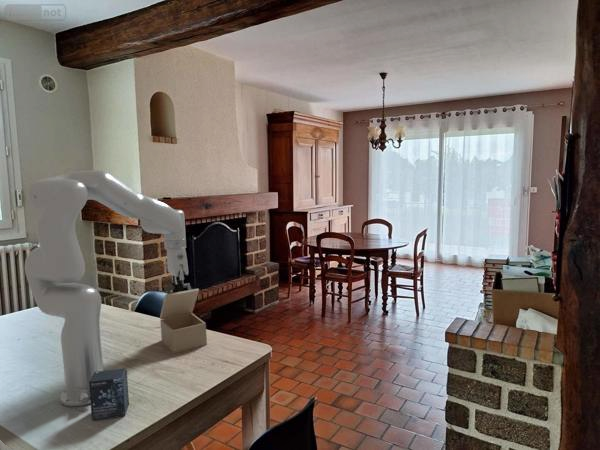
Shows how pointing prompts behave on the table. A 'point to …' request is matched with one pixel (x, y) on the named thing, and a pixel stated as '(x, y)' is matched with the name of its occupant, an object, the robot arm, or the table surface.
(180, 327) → the tan open container
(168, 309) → the door
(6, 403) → the table surface
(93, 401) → the box
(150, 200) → the robot arm
